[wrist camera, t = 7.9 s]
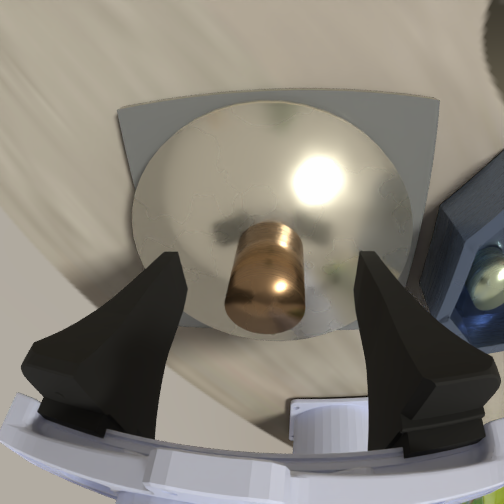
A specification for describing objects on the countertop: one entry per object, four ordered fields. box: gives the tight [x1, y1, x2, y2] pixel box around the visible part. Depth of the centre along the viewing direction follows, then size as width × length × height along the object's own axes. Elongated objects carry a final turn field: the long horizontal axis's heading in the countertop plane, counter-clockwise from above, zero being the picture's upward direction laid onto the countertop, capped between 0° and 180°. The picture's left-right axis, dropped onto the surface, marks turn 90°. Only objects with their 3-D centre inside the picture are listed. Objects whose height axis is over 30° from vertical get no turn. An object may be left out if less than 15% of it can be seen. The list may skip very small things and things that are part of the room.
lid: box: [132, 100, 413, 341], centre depth 13 cm, size 12×12×4 cm
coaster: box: [117, 88, 440, 330], centre depth 15 cm, size 13×13×1 cm
